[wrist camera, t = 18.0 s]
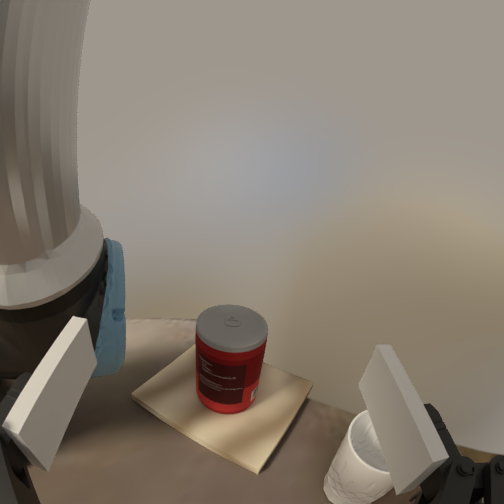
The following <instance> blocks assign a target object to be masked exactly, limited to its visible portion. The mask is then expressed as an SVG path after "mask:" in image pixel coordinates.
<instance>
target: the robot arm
mask: <svg viewBox="0 0 504 504" xmlns="http://www.w3.org/2000/svg"><path fill="white" fill-rule="evenodd" d="M89 5H90V0H0V504H40V501H39V499H38V496H37V494H36V491H35V489H34V486H33V483H32V481H31V478H30V475H29V472H28V469H27V467H26V465H25V462H26V460H27V459H28V460H29V461H30V463H31V464H32V465H33V466H35V467H37V468H40V469H42V470H44V471H47V472H49V470H50V468H51V465H52V463H53V460H54V458H55V455H56V453H57V450H58V448H59V445H60V443H61V441H62V438H63V436H64V433H65V431H66V429H67V427H68V424H69V422H70V420H71V417H72V415H73V413H74V411H75V409H76V406H77V404H78V402H79V400H80V398H81V396H82V393H83V391H84V389H85V387H86V385H87V383H88V381H89V379H90V378H93V377H101V376H108V375H113V374H115V373H116V372H118V371H119V370H120V369H121V367H122V365H123V363H124V359H125V349H126V321H125V315H124V312H125V272H124V257H123V250H122V246H121V244H120V243H119V242H117V241H114V240H110V239H108V238H105V239H104V238H103V231H102V227H101V224H100V222H99V220H98V219H97V217H96V216H95V215H94V214H93V213H92V212H91V211H90V210H89V209H87V208H86V207H84V206H83V205H81V204H80V203H79V191H78V174H77V101H78V86H79V72H80V63H81V54H82V46H83V39H84V32H85V26H86V20H87V15H88V10H89ZM358 386H359V389H360V391H361V394H362V396H363V399H364V402H365V405H366V407H367V410H368V413H369V415H370V418H371V421H372V424H373V427H374V429H375V432H376V435H377V438H378V441H379V444H380V446H381V449H382V452H383V455H384V458H385V461H386V464H387V467H388V470H389V473H390V476H391V479H392V482H393V485H394V489H395V492H396V495H399V494H403V493H407V492H410V491H413V490H414V489H415V488H416V487H417V486H419V485H420V486H421V490H420V491H419V492H418V493H417V494H415V495H414V496H413V497H412V498H411V499H410V500H409V502H412V501H413V500H414V499H415V498H416V500H415V502H414V504H504V456H501V455H498V456H495V457H494V458H493V459H492V460H491V461H490V462H488V463H474V462H473V461H472V460H471V459H470V458H468V457H464V456H461V455H460V453H459V452H458V450H457V447H456V445H455V443H454V442H453V439H452V437H451V435H450V434H449V432H448V430H447V429H446V426H445V424H444V422H442V418H441V416H440V414H439V412H438V411H437V410H436V409H435V408H434V407H433V406H432V405H431V404H430V403H429V404H423V403H422V401H421V399H420V397H419V395H418V393H417V392H416V390H415V388H414V386H413V384H412V382H411V380H410V378H409V377H408V375H407V373H406V371H405V369H404V368H403V366H402V364H401V362H400V360H399V359H398V357H397V355H396V353H395V352H394V350H393V348H392V346H391V345H390V344H377V345H376V347H375V349H374V352H373V354H372V356H371V359H370V361H369V363H368V365H367V367H366V370H365V372H364V374H363V376H362V379H361V380H360V382H359V384H358ZM483 497H484V499H483V503H482V498H483Z"/></svg>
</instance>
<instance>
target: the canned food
mask: <svg viewBox="0 0 504 504" xmlns="http://www.w3.org/2000/svg"><path fill="white" fill-rule="evenodd" d="M267 331H268V327H267V323H266V321H265V320H264V318H263V317H262V316H261V315H260V314H258V313H256V312H255V311H253V310H251V309H249V308H246V307H243V306H238V305H218V306H214V307H211V308H208V309H206V310H205V311H203V312H202V313H201V314H200V315H199V317H198V319H197V322H196V392H197V395H198V397H199V399H200V401H201V402H202V404H203V405H204V406H205V407H207V408H208V409H210V410H212V411H214V412H216V413H220V414H236V413H240V412H242V411H244V410H246V409H247V408H248V407H249V406H250V405H251V404H252V403H253V401H254V400H255V398H256V395H257V390H258V385H259V380H260V374H261V369H262V364H263V358H264V353H265V347H266V342H267V335H268V332H267Z"/></svg>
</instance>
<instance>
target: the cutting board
mask: <svg viewBox="0 0 504 504" xmlns="http://www.w3.org/2000/svg"><path fill="white" fill-rule="evenodd" d="M312 386H313V382H311V381H308V380H306V379H303V378H301V377H298V376H295V375H293V374H290V373H288V372H285V371H283V370H280V369H278V368H275V367H273V366H270V365H268V364H266V363H263V364H262V369H261V374H260V380H259V385H258V390H257V395H256V398H255V400H254V401H253V403H252V404H251V405H250V406H249V407H248V408H247V409H246V410H244V411H242V412H240V413H236V414H220V413H216V412H214V411H212V410H210V409H208V408H207V407H205V406H204V405H203V404H202V402H201V401H200V399H199V397H198V395H197V392H196V344H195V345H193V346H192V347H191V348H189V349H188V350H187V351H186V352H184V353H183V354H182V355H180V356H179V357H178V358H177V359H175V360H174V361H173V362H171V363H170V364H169V365H168V366H166V367H165V368H164V369H162V370H161V371H160V372H158V373H157V374H156V375H154V376H153V377H152V378H151V379H149V380H148V381H147V382H145V383H144V384H143V385H141V386H140V387H139V388H137V389H136V390H135V391H133V392H132V393H131V396H132V399H133V400H134V401H135V402H137V403H138V404H139V405H141V406H142V407H144V408H145V409H146V410H148V411H149V412H151V413H152V414H154V415H155V416H156V417H158V418H159V419H161V420H162V421H164V422H165V423H167V424H168V425H170V426H171V427H173V428H175V429H176V430H178V431H179V432H181V433H183V434H184V435H186V436H187V437H189V438H191V439H192V440H194V441H196V442H197V443H199V444H201V445H203V446H204V447H206V448H208V449H210V450H211V451H213V452H215V453H217V454H219V455H220V456H222V457H224V458H226V459H228V460H230V461H232V462H234V463H236V464H238V465H240V466H242V467H244V468H246V469H248V470H250V471H252V472H254V473H256V474H258V473H259V472H260V471H261V469H262V468H263V466H264V465H265V463H266V462H267V460H268V459H269V457H270V456H271V454H272V453H273V451H274V450H275V448H276V447H277V445H278V444H279V442H280V440H281V439H282V437H283V436H284V434H285V433H286V431H287V429H288V428H289V426H290V425H291V423H292V421H293V420H294V418H295V416H296V415H297V413H298V411H299V410H300V408H301V406H302V404H303V403H304V401H305V399H306V398H307V396H308V394H309V392H310V390H311V389H312Z"/></svg>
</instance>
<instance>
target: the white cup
mask: <svg viewBox="0 0 504 504" xmlns="http://www.w3.org/2000/svg"><path fill="white" fill-rule="evenodd" d="M392 488H394V485H393V482H392V479H391V476H390V473H389V470H388V467H387V464H386V461H385V458H384V455H383V452H382V449H381V446H380V444H379V441H378V438H377V435H376V432H375V429H374V427H373V424H372V421H371V418H370V415H369V413H368V410H365V411H363V412H361V413H360V414H358V415H357V416H356V417H355V418H354V419H353V421H352V422H351V424H350V426H349V428H348V430H347V433H346V435H345V437H344V439H343V441H342V443H341V445H340V446H339V448H338V450H337V453H336V455H335V457H334V459H333V461H332V463H331V466H330V469H329V471H328V472H327V474H326V476H325V477H324V486H323V490H324V492H325V494H326V496H327V498H328V500H329V501H331V502H332V503H333V504H371V503H373V502H374V501H376V500H377V499H378V498H380V497H382V496H383V495H385V494H386V493H387V492H389V491H390V490H391V489H392Z"/></svg>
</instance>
